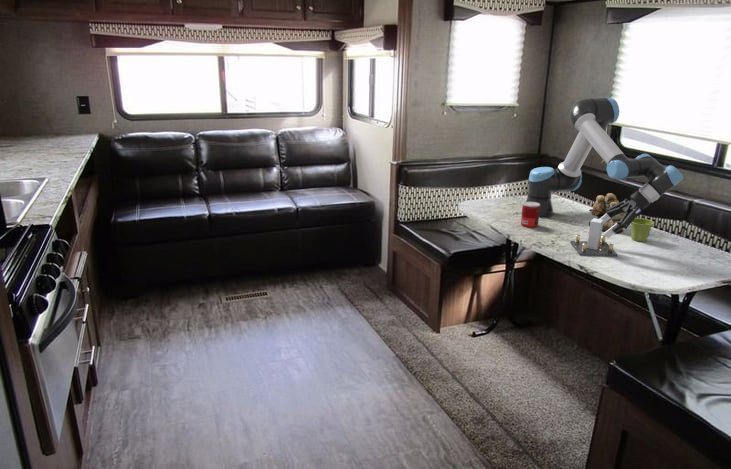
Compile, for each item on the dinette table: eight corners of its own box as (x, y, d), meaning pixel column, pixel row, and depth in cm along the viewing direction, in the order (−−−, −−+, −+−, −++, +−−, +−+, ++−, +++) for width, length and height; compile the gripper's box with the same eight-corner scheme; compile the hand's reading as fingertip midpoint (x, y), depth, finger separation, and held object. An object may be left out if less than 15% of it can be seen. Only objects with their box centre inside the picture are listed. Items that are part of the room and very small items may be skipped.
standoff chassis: (570, 243, 235) (571, 233, 234) (605, 244, 234) (607, 234, 232) (579, 255, 221) (580, 245, 220) (617, 256, 220) (618, 246, 218)
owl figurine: (580, 225, 260) (585, 190, 254) (596, 221, 265) (601, 188, 260) (612, 235, 245) (618, 199, 240) (629, 231, 250) (635, 196, 245)
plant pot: (641, 244, 233) (644, 225, 230) (622, 238, 241) (625, 220, 238) (655, 241, 237) (658, 222, 234) (636, 235, 245) (639, 217, 242)
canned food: (538, 228, 254) (541, 206, 251) (521, 227, 256) (523, 205, 252) (537, 223, 262) (539, 202, 258) (520, 222, 263) (522, 201, 259)
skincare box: (597, 250, 224) (601, 223, 220) (586, 248, 226) (590, 221, 222) (599, 246, 229) (603, 219, 225) (589, 244, 231) (593, 217, 227)
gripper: (662, 212, 206) (615, 247, 213) (638, 195, 230) (597, 227, 236) (650, 198, 205) (603, 234, 212) (627, 183, 228) (586, 215, 235)
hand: (600, 230), depth 224 cm, fingers open, 13 cm apart
